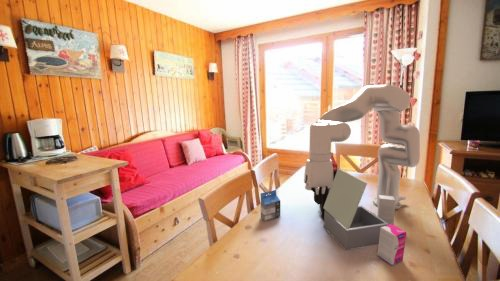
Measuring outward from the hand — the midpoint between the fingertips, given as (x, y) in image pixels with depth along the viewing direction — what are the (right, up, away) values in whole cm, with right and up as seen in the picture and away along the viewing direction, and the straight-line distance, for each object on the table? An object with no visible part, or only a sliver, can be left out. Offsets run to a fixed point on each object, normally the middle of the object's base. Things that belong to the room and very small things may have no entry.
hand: (318, 202), depth 92 cm
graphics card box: (+11, -11, +25) cm, 30 cm away
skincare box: (+34, -13, +15) cm, 39 cm away
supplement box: (+23, -18, -9) cm, 30 cm away
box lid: (+11, +2, +2) cm, 11 cm away
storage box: (+16, -15, +6) cm, 23 cm away
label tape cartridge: (-16, -13, +22) cm, 30 cm away
